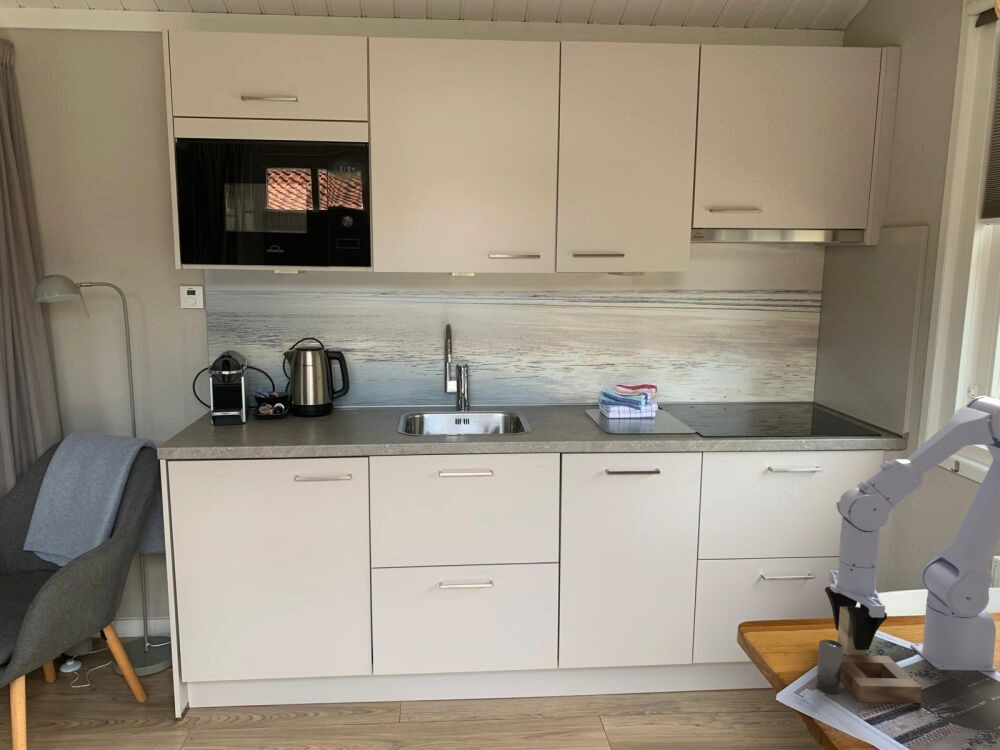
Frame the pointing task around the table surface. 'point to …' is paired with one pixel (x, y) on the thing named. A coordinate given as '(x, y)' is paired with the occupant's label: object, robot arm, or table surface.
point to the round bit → (829, 666)
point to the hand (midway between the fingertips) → (852, 639)
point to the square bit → (847, 633)
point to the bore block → (878, 680)
